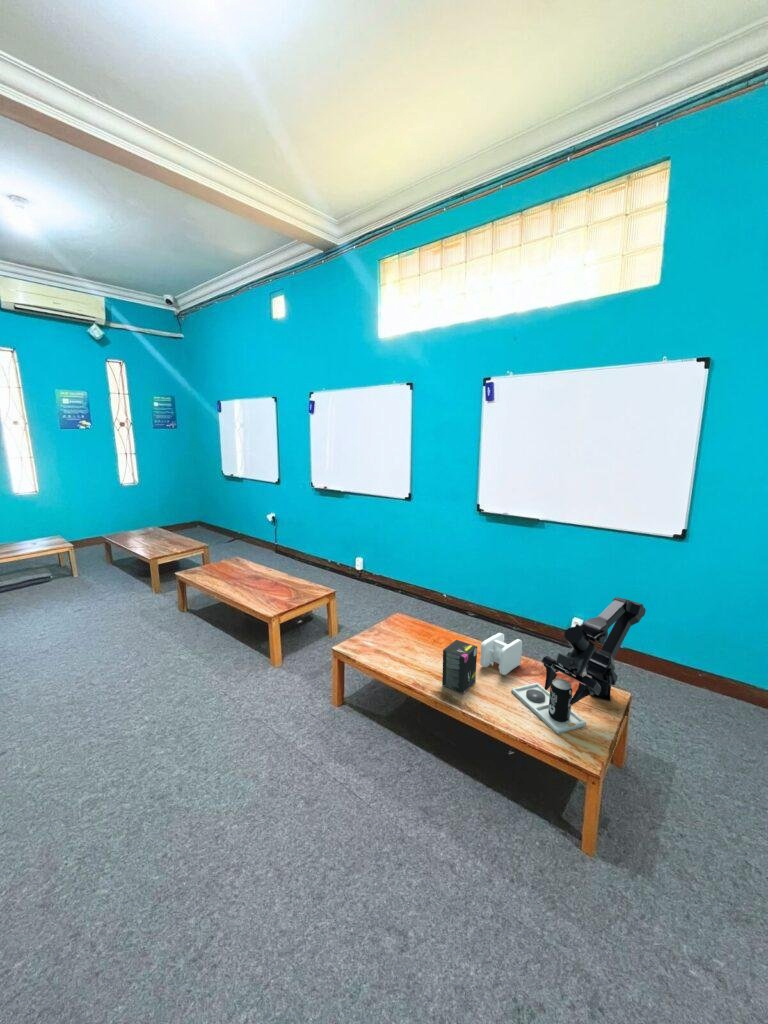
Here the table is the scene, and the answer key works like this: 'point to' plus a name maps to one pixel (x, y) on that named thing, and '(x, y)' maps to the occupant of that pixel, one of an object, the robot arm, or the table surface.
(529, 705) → the white divided tray
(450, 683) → the tampon box
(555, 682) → the beverage can
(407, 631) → the table surface
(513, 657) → the cable organizer
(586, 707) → the table surface
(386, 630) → the table surface
